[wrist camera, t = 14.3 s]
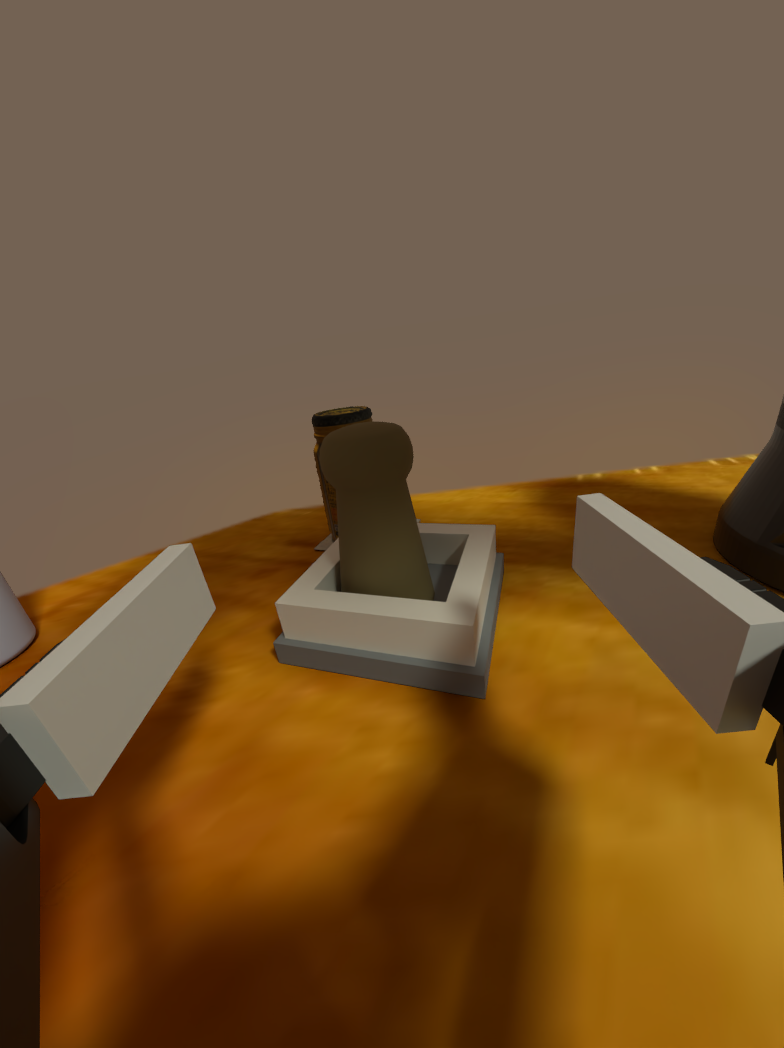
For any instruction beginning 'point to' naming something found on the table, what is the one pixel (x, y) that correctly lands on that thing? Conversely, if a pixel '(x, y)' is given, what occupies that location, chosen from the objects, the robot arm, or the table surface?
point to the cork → (376, 511)
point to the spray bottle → (13, 625)
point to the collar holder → (402, 617)
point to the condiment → (322, 427)
